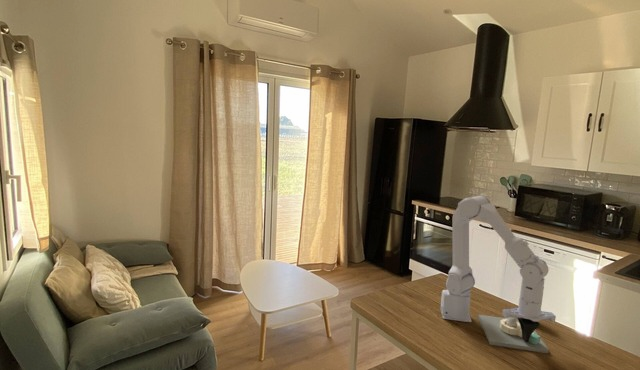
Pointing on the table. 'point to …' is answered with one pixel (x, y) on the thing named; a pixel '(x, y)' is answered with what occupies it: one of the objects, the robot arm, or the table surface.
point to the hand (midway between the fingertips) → (525, 340)
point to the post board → (507, 335)
